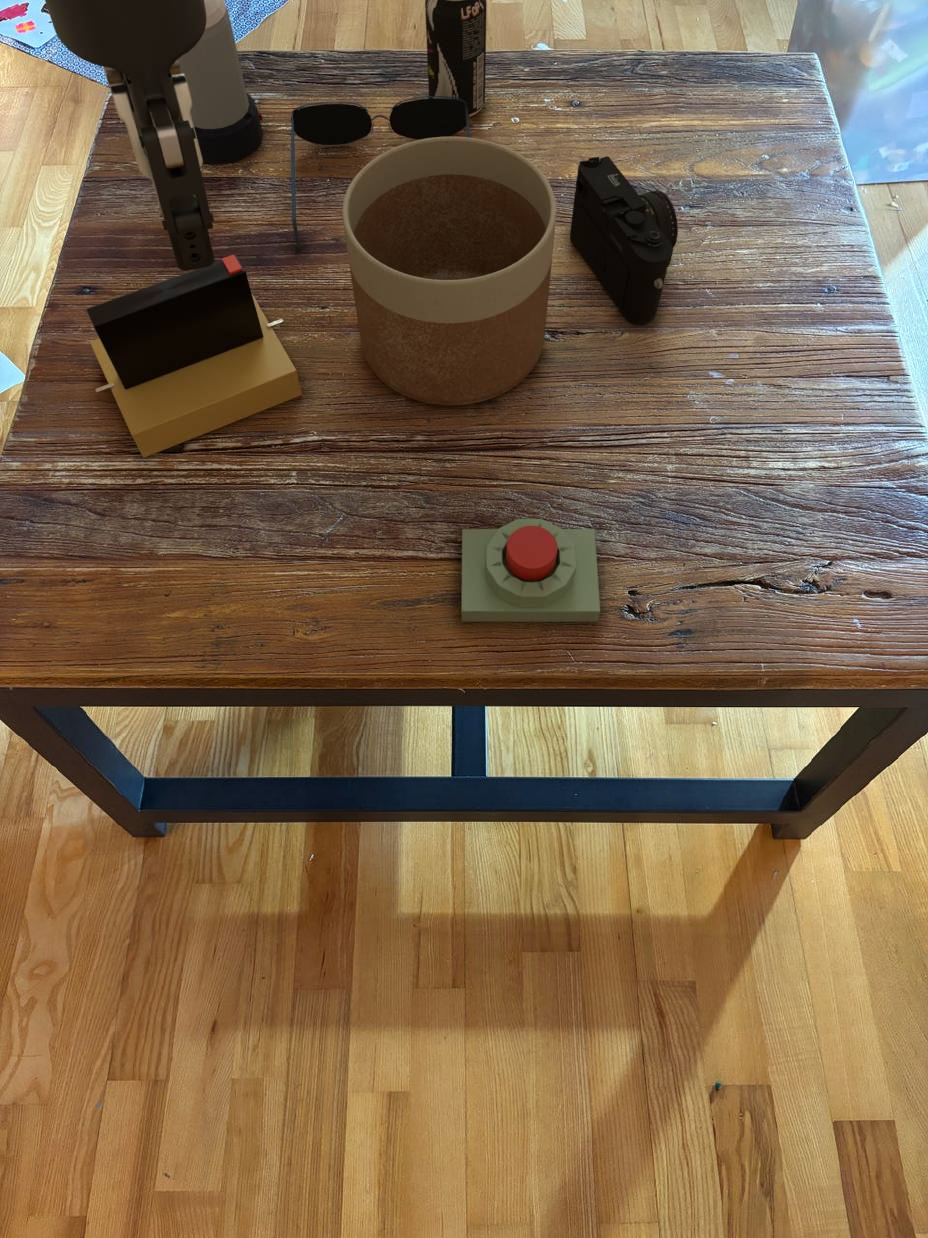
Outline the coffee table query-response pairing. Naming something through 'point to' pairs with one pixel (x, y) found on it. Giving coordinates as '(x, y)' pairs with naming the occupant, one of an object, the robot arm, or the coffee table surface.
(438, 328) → the planter
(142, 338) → the block
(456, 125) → the sunglasses
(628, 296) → the camera
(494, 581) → the button block
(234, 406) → the plate
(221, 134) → the humidifier
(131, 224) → the coffee table surface
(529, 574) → the button
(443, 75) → the beverage can
